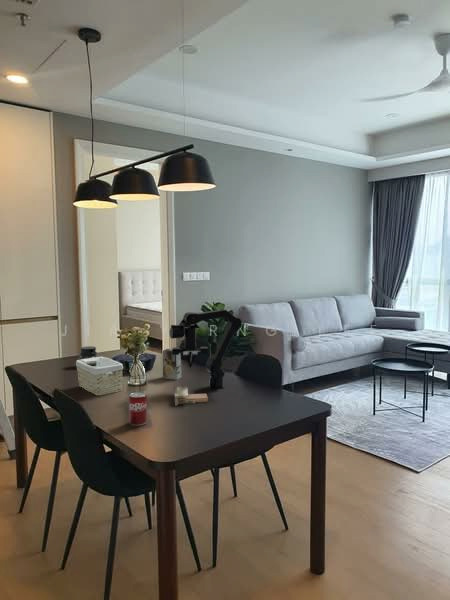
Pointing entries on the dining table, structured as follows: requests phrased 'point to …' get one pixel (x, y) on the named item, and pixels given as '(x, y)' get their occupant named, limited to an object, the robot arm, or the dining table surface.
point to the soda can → (137, 409)
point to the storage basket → (100, 375)
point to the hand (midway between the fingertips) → (190, 367)
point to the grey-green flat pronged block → (182, 395)
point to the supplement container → (88, 354)
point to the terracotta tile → (195, 398)
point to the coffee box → (171, 365)
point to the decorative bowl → (128, 361)
